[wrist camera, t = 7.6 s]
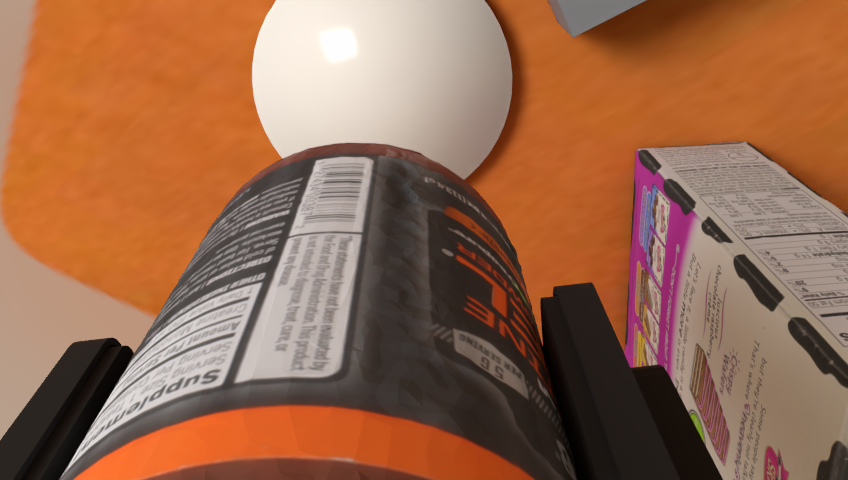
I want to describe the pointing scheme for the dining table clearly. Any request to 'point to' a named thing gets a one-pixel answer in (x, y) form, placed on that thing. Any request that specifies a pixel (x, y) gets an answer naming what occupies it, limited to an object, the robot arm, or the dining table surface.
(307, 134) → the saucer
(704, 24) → the dining table surface
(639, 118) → the dining table surface
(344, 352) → the supplement bottle
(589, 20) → the socket block
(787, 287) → the candy bar box
